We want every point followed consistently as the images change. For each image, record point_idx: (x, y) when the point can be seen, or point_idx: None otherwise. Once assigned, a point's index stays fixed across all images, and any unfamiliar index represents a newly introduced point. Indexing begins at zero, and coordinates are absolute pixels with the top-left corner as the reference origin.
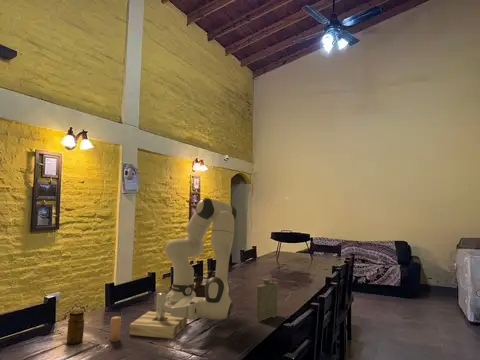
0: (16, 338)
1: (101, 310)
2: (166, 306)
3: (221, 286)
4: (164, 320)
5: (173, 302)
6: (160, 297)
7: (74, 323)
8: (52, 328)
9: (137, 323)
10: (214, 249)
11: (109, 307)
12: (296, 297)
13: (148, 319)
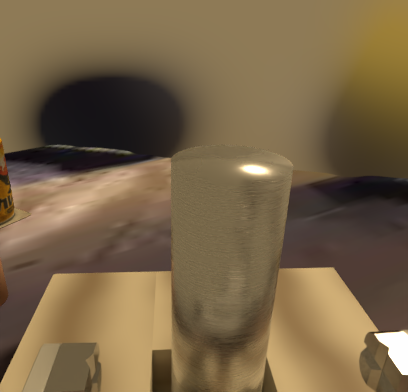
0: (39, 153)
1: (307, 177)
2: (28, 378)
3: None
4: None
5: (386, 374)
6: (172, 199)
7: None
8: (115, 165)
9: (65, 300)
10: None
11: (348, 180)
12: None
13: (169, 323)
